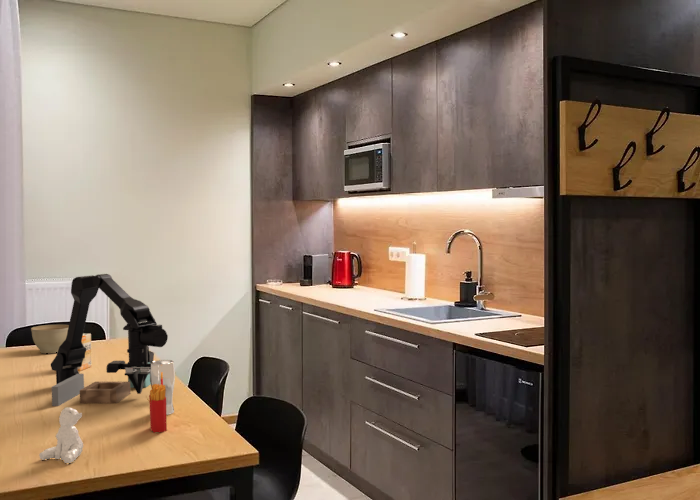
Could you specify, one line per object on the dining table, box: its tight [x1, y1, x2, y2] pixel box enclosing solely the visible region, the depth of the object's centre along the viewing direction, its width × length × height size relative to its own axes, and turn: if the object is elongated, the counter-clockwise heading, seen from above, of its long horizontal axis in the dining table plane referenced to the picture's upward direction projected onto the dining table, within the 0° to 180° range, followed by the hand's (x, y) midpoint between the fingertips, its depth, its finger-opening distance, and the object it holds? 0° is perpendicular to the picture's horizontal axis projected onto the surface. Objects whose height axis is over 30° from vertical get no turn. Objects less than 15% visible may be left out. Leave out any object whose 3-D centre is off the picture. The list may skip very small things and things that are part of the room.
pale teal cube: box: [127, 362, 151, 389], centre depth 240 cm, size 6×6×8 cm
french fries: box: [148, 384, 168, 433], centre depth 190 cm, size 8×4×12 cm, turn 23°
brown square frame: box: [79, 381, 132, 404], centre depth 224 cm, size 12×12×4 cm
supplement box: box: [78, 333, 93, 372], centre depth 269 cm, size 8×5×13 cm, turn 168°
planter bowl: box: [30, 324, 69, 354], centre depth 305 cm, size 16×16×11 cm
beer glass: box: [150, 359, 176, 416], centre depth 206 cm, size 7×7×15 cm
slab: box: [51, 373, 85, 407], centre depth 224 cm, size 2×18×6 cm, turn 177°
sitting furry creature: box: [38, 406, 84, 464], centre depth 169 cm, size 10×9×12 cm
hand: (139, 393), depth 223 cm, fingers closed
